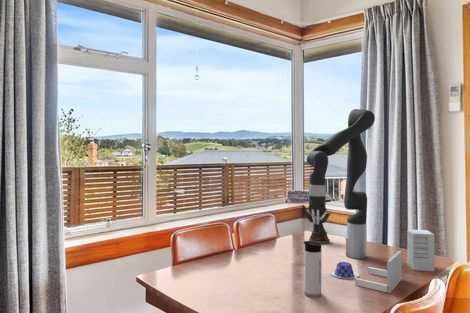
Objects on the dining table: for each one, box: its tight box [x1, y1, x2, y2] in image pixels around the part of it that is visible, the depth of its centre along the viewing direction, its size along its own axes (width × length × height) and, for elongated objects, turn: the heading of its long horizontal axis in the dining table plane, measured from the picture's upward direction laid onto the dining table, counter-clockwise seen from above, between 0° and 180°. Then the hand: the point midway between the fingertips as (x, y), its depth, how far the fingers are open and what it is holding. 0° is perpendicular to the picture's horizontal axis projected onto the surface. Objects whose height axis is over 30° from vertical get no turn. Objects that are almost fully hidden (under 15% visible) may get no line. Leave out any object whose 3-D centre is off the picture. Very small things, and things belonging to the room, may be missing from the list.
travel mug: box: [303, 240, 322, 298], centre depth 134 cm, size 6×7×20 cm
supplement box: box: [406, 229, 435, 272], centre depth 164 cm, size 10×9×17 cm
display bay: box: [354, 250, 403, 294], centre depth 146 cm, size 14×18×12 cm
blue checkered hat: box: [329, 261, 360, 280], centre depth 155 cm, size 12×12×5 cm
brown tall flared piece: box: [308, 186, 336, 245], centre depth 209 cm, size 17×13×35 cm
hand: (317, 232), depth 163 cm, fingers closed
